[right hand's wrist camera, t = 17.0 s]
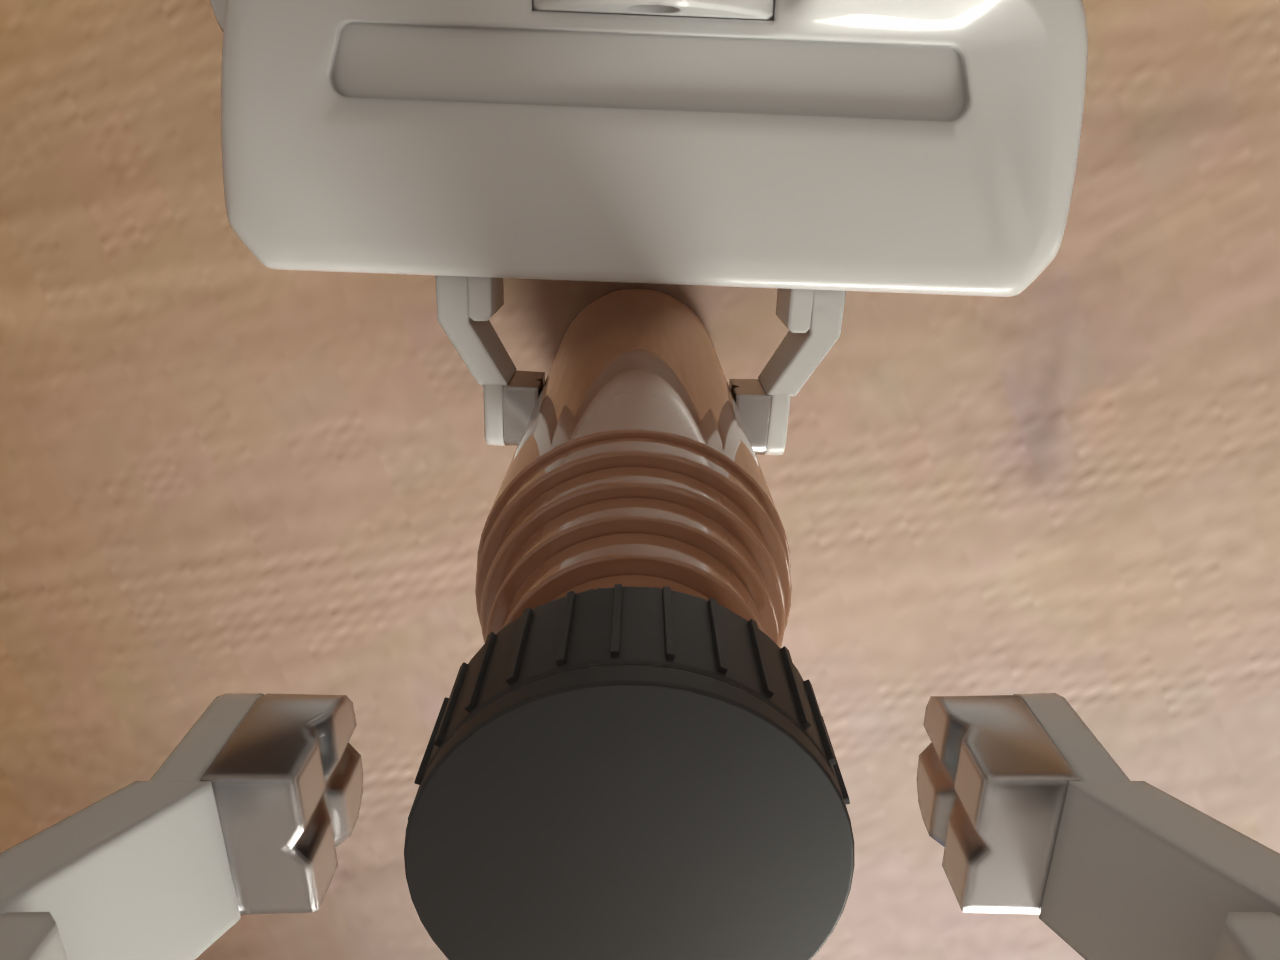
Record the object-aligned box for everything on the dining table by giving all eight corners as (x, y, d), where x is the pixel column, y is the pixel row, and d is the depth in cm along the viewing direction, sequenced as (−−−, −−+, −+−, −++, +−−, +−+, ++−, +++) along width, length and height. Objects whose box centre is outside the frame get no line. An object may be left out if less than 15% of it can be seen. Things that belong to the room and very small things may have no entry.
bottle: (708, 445, 30) (846, 1025, 10) (557, 438, 30) (389, 1007, 10) (721, 292, 28) (922, 627, 8) (559, 284, 28) (358, 602, 8)
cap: (874, 626, 10) (928, 731, 8) (761, 921, 11) (784, 1065, 9) (474, 540, 9) (435, 631, 8) (414, 858, 11) (371, 996, 9)
